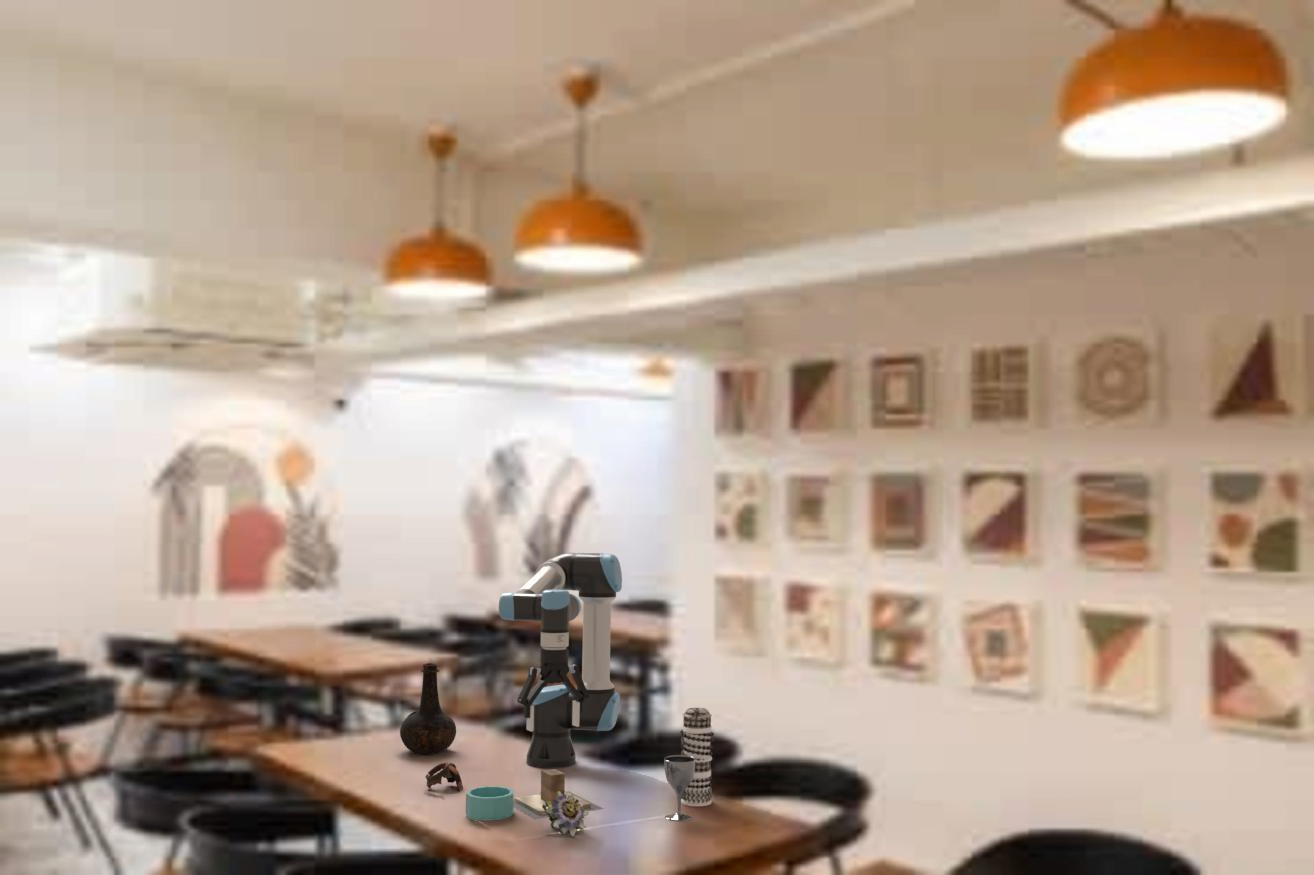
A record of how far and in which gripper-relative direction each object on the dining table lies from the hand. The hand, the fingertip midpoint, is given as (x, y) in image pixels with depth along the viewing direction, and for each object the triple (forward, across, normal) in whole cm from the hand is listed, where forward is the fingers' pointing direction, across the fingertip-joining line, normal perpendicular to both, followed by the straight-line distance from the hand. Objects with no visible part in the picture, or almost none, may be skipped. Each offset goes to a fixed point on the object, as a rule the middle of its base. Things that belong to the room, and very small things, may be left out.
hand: (553, 728), depth 307 cm
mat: (+21, 0, 0) cm, 21 cm away
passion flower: (+21, -8, -22) cm, 31 cm away
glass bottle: (+20, -6, +77) cm, 80 cm away
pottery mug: (+21, -18, +31) cm, 42 cm away
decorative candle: (+21, +36, -15) cm, 44 cm away
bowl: (+21, -18, 0) cm, 27 cm away
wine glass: (+21, +24, -25) cm, 41 cm away
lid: (+20, 0, 0) cm, 20 cm away
